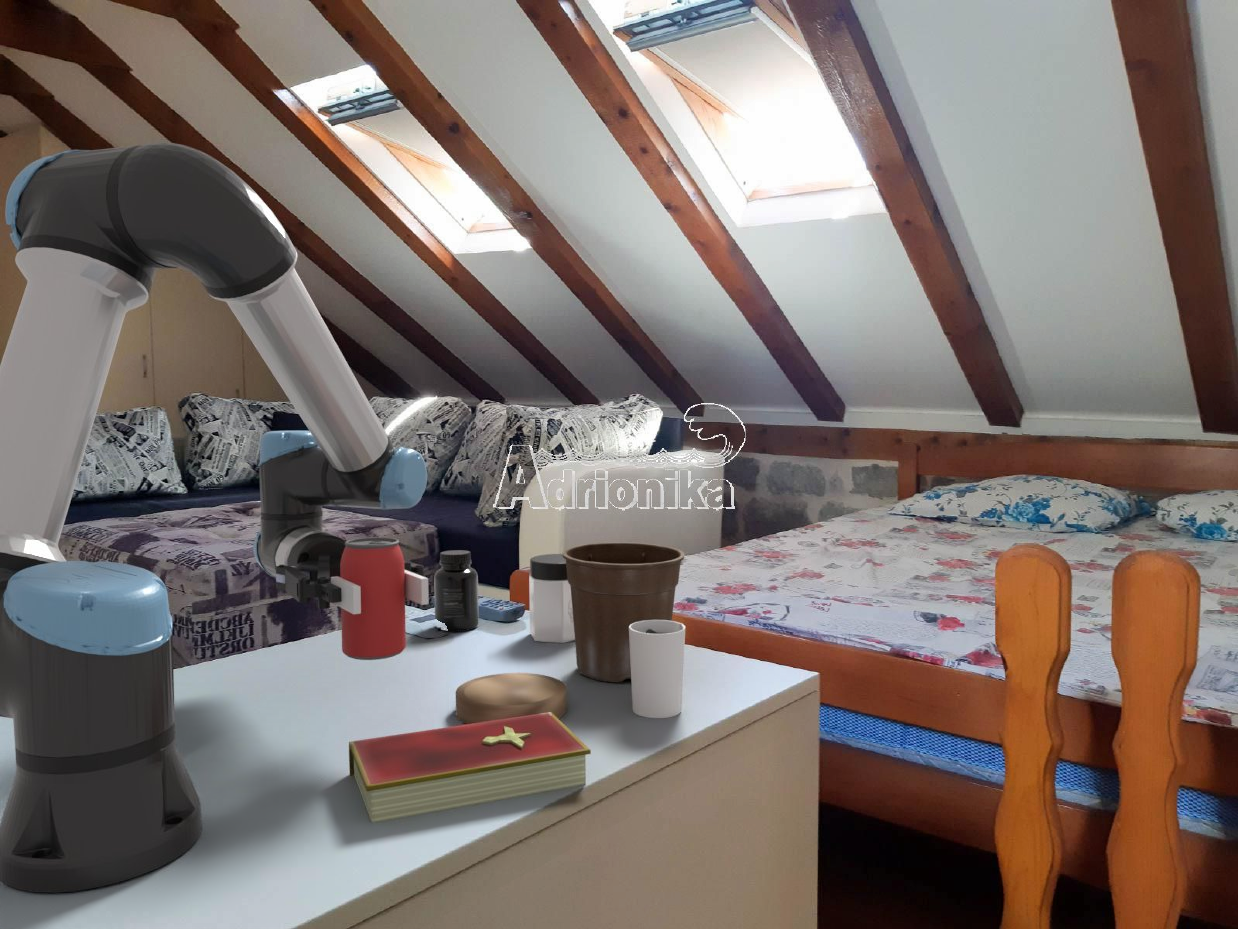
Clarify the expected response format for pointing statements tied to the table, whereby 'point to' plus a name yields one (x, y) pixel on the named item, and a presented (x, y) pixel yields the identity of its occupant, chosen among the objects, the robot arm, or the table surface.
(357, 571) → the beer can
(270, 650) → the table surface
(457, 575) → the supplement bottle
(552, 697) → the shallow wooden bowl
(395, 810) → the hardcover book
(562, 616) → the jar
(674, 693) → the white cup
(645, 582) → the plant pot
